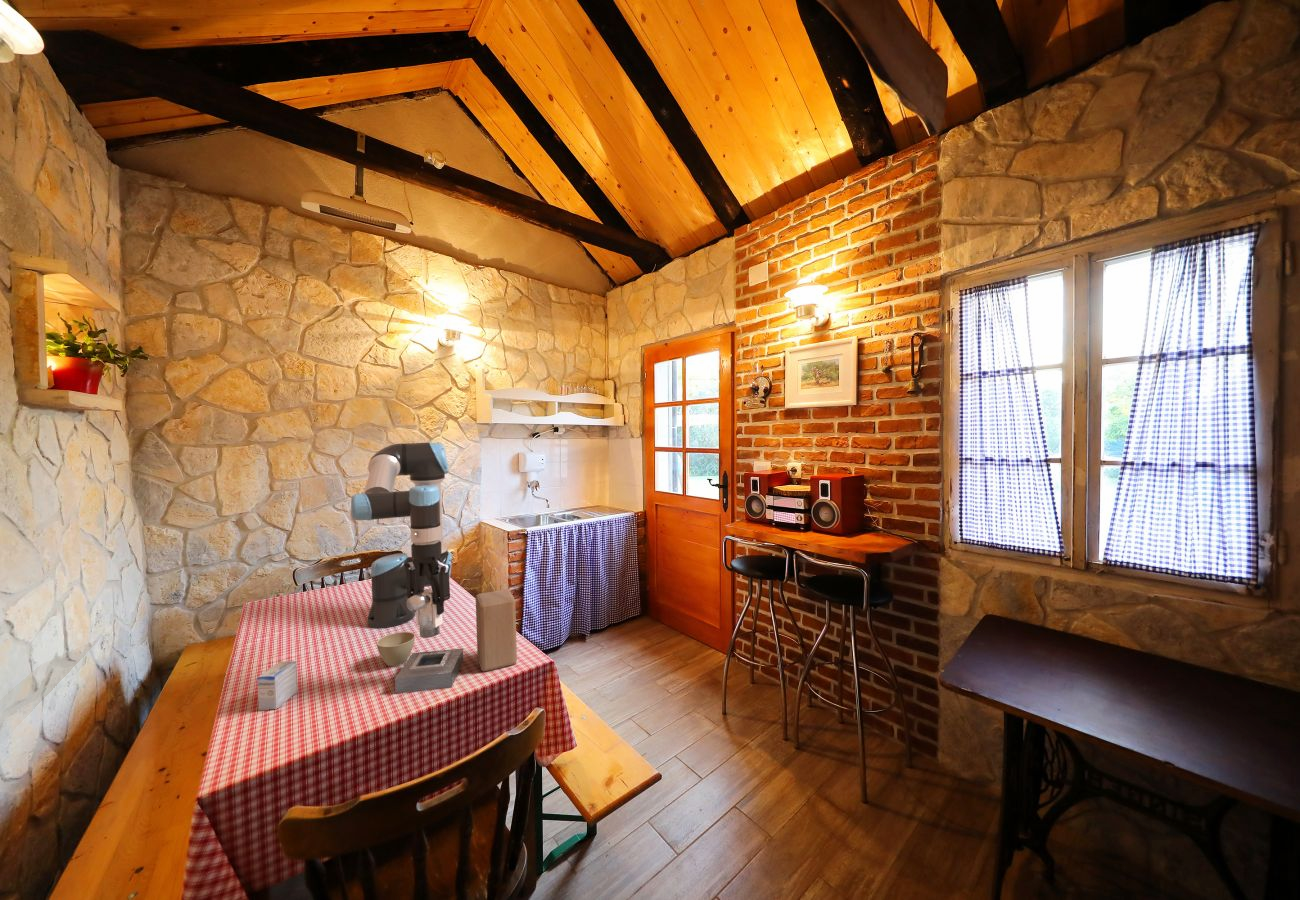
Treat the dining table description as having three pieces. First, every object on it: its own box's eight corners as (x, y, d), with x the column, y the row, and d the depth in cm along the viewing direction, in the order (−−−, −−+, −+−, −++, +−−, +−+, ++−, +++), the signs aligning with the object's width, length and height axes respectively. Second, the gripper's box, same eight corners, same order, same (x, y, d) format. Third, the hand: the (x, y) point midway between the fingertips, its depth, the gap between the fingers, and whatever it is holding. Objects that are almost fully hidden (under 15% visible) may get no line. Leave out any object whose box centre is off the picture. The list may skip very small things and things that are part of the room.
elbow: (429, 629, 131) (427, 586, 131) (443, 631, 130) (442, 587, 129) (406, 642, 124) (404, 596, 123) (421, 644, 122) (419, 597, 122)
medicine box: (280, 693, 122) (279, 661, 122) (298, 691, 122) (297, 660, 122) (258, 711, 114) (256, 677, 114) (277, 709, 115) (275, 676, 114)
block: (481, 673, 130) (479, 604, 129) (477, 658, 139) (474, 593, 138) (517, 664, 135) (515, 597, 134) (511, 650, 144) (509, 587, 143)
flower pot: (399, 672, 131) (398, 648, 131) (369, 669, 134) (368, 645, 133) (423, 655, 141) (422, 632, 141) (395, 652, 143) (394, 630, 143)
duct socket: (413, 666, 135) (412, 650, 134) (463, 661, 137) (462, 645, 137) (395, 693, 121) (394, 675, 121) (451, 687, 123) (451, 669, 123)
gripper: (389, 543, 126) (392, 626, 127) (443, 546, 121) (447, 633, 122) (410, 537, 133) (413, 616, 134) (462, 540, 128) (465, 622, 129)
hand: (429, 624), depth 128 cm, fingers closed on elbow, 5 cm apart
